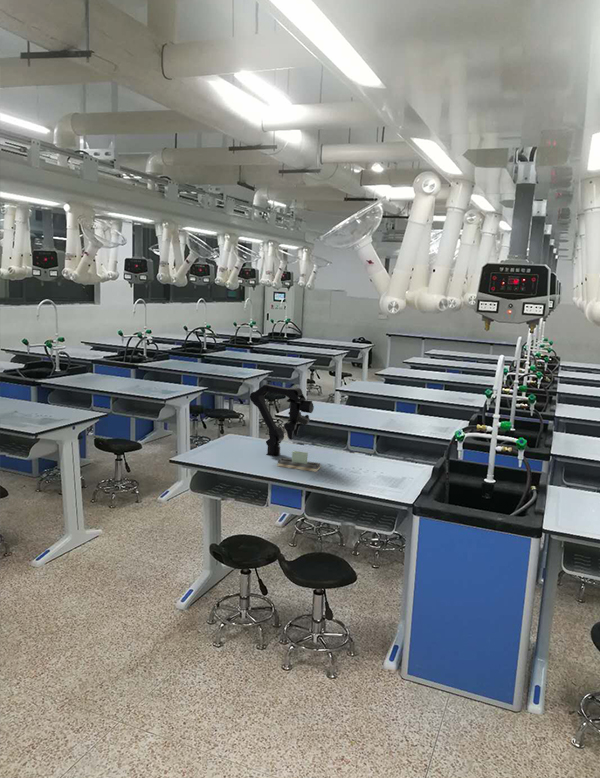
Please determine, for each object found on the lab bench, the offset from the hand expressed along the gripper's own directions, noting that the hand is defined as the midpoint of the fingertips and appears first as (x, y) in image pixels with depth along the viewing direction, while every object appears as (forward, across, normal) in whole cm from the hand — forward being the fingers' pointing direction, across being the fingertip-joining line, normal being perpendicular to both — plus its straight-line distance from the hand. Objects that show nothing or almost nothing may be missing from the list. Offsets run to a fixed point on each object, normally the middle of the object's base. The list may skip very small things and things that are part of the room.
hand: (293, 437), depth 325 cm
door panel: (+11, -13, -8) cm, 19 cm away
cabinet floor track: (+12, -13, -8) cm, 19 cm away
